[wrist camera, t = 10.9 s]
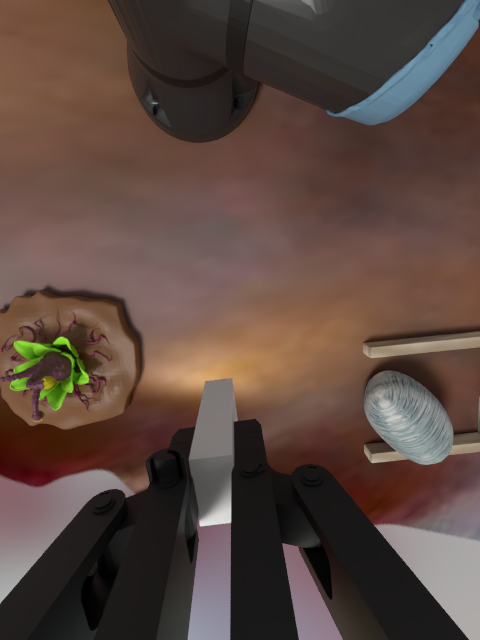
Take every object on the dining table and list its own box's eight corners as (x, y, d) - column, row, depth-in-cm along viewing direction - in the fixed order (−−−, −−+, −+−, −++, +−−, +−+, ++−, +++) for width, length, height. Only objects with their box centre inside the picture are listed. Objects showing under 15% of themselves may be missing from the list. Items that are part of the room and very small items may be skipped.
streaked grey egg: (466, 427, 43) (480, 474, 35) (402, 445, 48) (400, 490, 40) (410, 348, 44) (411, 375, 36) (353, 373, 49) (342, 403, 41)
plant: (151, 414, 45) (125, 464, 34) (20, 427, 45) (-48, 481, 34) (130, 282, 41) (94, 289, 30) (-12, 294, 41) (-101, 306, 30)
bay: (362, 342, 44) (370, 347, 41) (494, 329, 44) (509, 333, 41) (364, 452, 47) (371, 463, 45) (485, 439, 47) (499, 449, 45)
